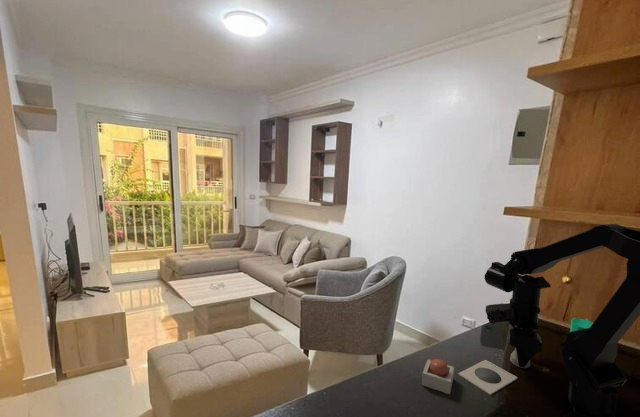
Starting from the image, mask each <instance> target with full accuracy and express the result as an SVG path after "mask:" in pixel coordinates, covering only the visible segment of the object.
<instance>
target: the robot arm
mask: <svg viewBox="0 0 640 417" xmlns="http://www.w3.org/2000/svg"><path fill="white" fill-rule="evenodd" d="M604 248H607V249H608V250H609V251H611V252H613V253H615V254H616V255H618V256H619V257H622V258H624V259H626V260H627V261H626V277H625V279H624V280H623V282H622V283H621V284H620V285H619V287H618V288H617V289H616V291H615V292H614V294H613V295H612V297H611V298H610V299H609V301H608V302H607V303H606V304H605V306H604V307H603V309H602V310H601V312H600V313H599V314H598V316H597V317H596V318H595V319H594V321H593V324H592V325H591V327H590V328H586V329H582V330H577V331H572V332H570V331H569V333H568V334H567V336H566V339H565V340H564V342H562V343H561V344H560V346H561V347H562V348H561V350H560V355H561V357H562V359H563V362H564V366H565V369H566V374H567V378H568V380H569V386H568V394H567V397H568V400H569V405H570V406H572V408H573V411H574V414H575V415H578V416H581V417H616V411H617V403H618V402H617V401H618V396H619V392H618V390H617V387H621V386H623V385H624V384H625V383H626V382H627V381H628V377H627V376H626V375H625V373H624V372H623V370H621V368H620V367H619V366H618V364H617V363H616V361H615V360H616V357H617V356H618V343H619V342H620V341H621V340H622V338H623V337H624V335H625V334H626V333H627V332H628V330H629V329H630V328H631V327H632V326H633V324H634V323H635V322H636V320H638V318H640V230H639V229H638V230H637V229H633V228H629V227H626V226H623V225H620V224H618V223H609V224H608V223H605V224H598V225H595V226H593V227H592V228H590V229H588V230H585V231H583V232H579V233H577V234H574V235H572V236H569V237H567V238H564V239H561V240H559V241H556V242H553V243H551V244H548V245H545V246H542V247H536V248H529V249H523V250H517V251H514V252H512V253H511V254H510V260H509V261H507V262H506V264H504V263H501V262H499V261H495V262H491V266H490V267H489V268H487V270H486V272H485V273H484V281H485V283H486V284H487V285H489V286H492V287H493V288H496V289H497V290H498V289H499V290H500V291H503V292H505V293H511V292H512V294H511V298H510V299H509V303H495V304H488V305H486V306H485V313H486V319H487V320H488V323H489V324H496V323H506V322H508V325H511V327H512V328H510V329H509V334H508V335H509V336H508V342H509V343H508V344H509V345H510V346H513V347H514V349H515V348H516V351H517V357H518V364H519V366H520V367H525V366H526V364H527V363H528V362H529V361H530V362H531V360H532V358H534V357H535V355H536V354H538V353H541V352H543V351H542V350H543V342H542V337H541V336H540V335H539V334H538V332H536V331H534V330H539V327H540V326H539V321H538V320H539V314H540V313H541V308H540V302H541V289H548V288H551V287H552V284H550V283H549V281H547V280H546V278H545V277H544V276H536V277H535V276H532V274H533V275H534V274H541V273H544V272H546V271H548V270H550V269H552V268H554V267H555V266H556V265H557V264H558V263H560V262H562V261H565V260H568V259H572V258H575V257H578V256H580V255H583V254H588V253H590V252H593V251H596V250H600V249H604ZM520 367H519V368H520Z"/></svg>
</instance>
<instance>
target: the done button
mask: <svg viewBox="0 0 640 417" xmlns="http://www.w3.org/2000/svg"><path fill="white" fill-rule="evenodd" d="M430 360H431V366H430V373H431V374H434V375H437V376H440V377H444V378H445V377H446V376H447V365H448V364H447V362H445V361H444V360H442V359H440V358H433V359H430Z"/></svg>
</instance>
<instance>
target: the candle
mask: <svg viewBox="0 0 640 417" xmlns="http://www.w3.org/2000/svg"><path fill="white" fill-rule="evenodd" d="M593 323H594V321H593V322H592V321H590V320H589V319H584V318H583V319H580V318H574V317H573V318H572V319H571V320H570V330H569V333H570V332H572V331H577V330H582V329H586V328H590V327H591V325H592V324H593Z"/></svg>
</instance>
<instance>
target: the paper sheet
mask: <svg viewBox="0 0 640 417" xmlns="http://www.w3.org/2000/svg"><path fill="white" fill-rule="evenodd" d="M457 375H458V376H460V377H461V378H462V379H465V381H468V382H469V383H471V385H473V386H475V387H476V388H478V389H480V390H481V391H483V392H484V393H486V394H488V395H489V396H491V395H493V394H494V393H496V392H498V391H500V390H501V389H504V388H505V387H506V386H508V385H510V384H511V383H513V382H515V381H516V380H518V377H517V376H516V375H514V374H512V373H510V372H509V371H507V370H505V369H503V368H501V367H500V366H497V365H496V364H494V363H493V362H490V361H489V360H486V359H484V360H481V361H480V362H477V363H476V364H474V365H472V366H470V367H468V368H466V369H464V370H462V371H459V372H458V373H457Z"/></svg>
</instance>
